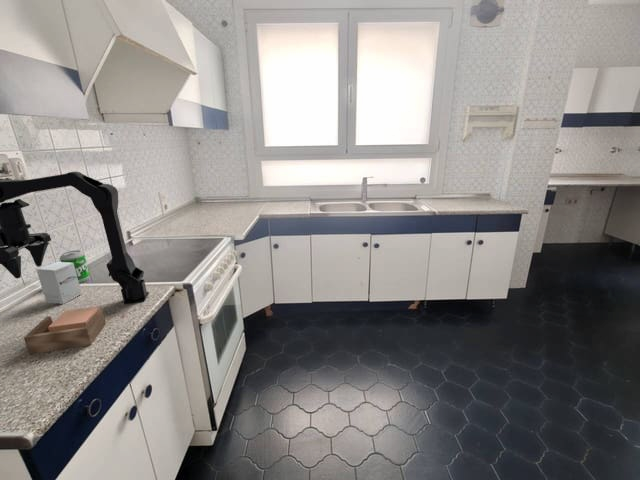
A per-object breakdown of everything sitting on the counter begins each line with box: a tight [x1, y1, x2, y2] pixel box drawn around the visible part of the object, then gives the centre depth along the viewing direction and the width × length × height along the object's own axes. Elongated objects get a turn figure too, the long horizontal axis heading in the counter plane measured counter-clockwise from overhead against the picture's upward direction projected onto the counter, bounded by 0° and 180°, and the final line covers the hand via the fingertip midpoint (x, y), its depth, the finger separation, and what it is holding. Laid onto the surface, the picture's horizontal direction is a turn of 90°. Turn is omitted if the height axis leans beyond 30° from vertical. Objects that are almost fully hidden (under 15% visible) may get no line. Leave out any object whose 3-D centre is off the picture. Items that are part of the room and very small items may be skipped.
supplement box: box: [36, 261, 83, 305], centre depth 107 cm, size 7×7×13 cm
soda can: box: [59, 249, 91, 284], centre depth 121 cm, size 8×8×12 cm
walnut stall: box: [23, 308, 107, 355], centre depth 86 cm, size 14×10×5 cm
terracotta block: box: [48, 306, 100, 332], centre depth 90 cm, size 9×9×4 cm
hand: (29, 271), depth 96 cm, fingers open, 9 cm apart
